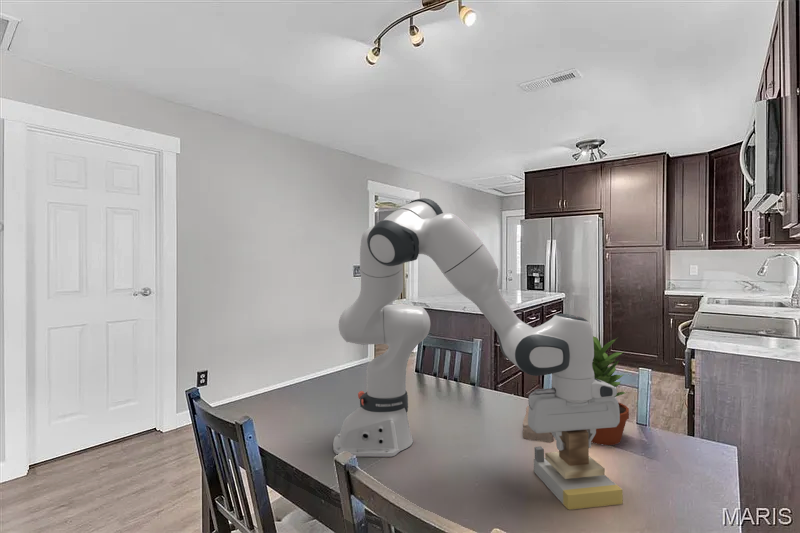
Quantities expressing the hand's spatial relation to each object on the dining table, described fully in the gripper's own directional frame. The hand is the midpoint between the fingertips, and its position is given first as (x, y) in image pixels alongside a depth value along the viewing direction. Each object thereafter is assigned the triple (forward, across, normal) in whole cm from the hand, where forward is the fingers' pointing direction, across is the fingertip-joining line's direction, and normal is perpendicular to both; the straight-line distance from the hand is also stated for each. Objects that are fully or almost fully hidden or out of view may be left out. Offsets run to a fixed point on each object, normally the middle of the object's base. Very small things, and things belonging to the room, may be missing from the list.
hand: (573, 448), depth 96 cm
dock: (+9, 0, 0) cm, 9 cm away
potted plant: (+9, +21, +23) cm, 32 cm away
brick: (+9, +7, +31) cm, 33 cm away
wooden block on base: (+4, 0, 0) cm, 4 cm away
